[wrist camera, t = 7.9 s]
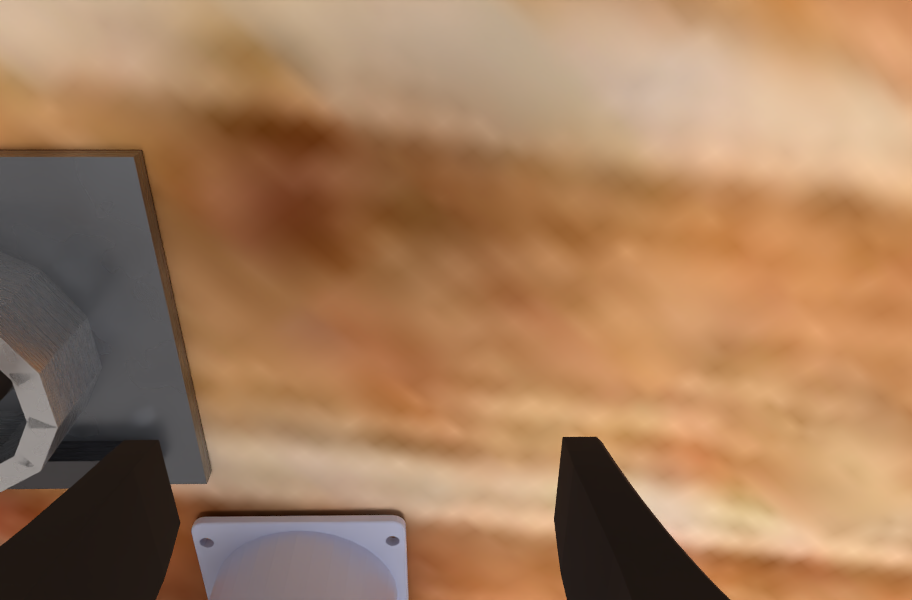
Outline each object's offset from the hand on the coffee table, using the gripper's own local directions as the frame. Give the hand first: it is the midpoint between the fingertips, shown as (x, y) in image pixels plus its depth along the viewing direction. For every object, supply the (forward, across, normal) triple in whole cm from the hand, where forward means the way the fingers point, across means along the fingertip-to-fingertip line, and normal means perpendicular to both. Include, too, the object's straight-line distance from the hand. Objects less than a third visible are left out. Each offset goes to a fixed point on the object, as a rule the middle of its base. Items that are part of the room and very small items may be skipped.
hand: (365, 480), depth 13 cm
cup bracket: (+10, +13, +3) cm, 17 cm away
